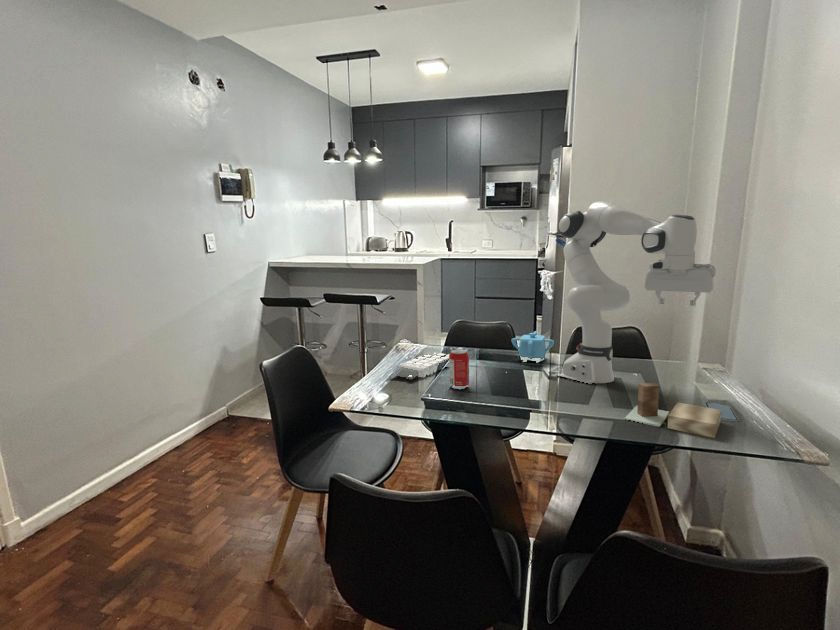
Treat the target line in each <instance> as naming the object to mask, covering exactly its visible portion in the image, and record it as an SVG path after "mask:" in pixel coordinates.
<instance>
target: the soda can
mask: <svg viewBox="0 0 840 630" xmlns="http://www.w3.org/2000/svg"><path fill="white" fill-rule="evenodd" d="M449 354H450V355H449V367H448V370H449V371H448V372H449V373H448V376H449V377H448V378H449V379H448V381H449V382H448V383H450V384H452V385H455V386H466V385H469V386H470V354H469V353H468V351H467V350H466V349H459V348H458V349H452V350H450V353H449Z"/></svg>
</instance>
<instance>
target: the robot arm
mask: <svg viewBox="0 0 840 630" xmlns="http://www.w3.org/2000/svg"><path fill="white" fill-rule="evenodd" d="M697 228H698V227H697V221H696V219H695V217H693V216H692V215H686V214H671V215H669V216H668V218H666V220H664V221H661V222H660V221H658V220H655V219H651V218H648V217H646V216H643V215H641V214H639V213H636V212H634V211H632V210H629V209H627V208H625V207H623V206H620V205H618V204H616V203H615V204H614V203H613V202H608V201H602V200H599V201H595V202H593V203H592V204H590V205H589V206H588V208H587V210H586V211H585V212H582V211H581V210H576V211H573V212H567V213H565V214H564V215H562V216H561V217H560V219H559V221H558V223H557V229H558V230H557V231H558V233H559V234H560V235H561V236H562V237H564V238H566V239H570V241H568V242H566V244H565V245H564V247H563V256H564V260H565V263H566V265H567V268H568V270H569V272H570V275H571V277H572V279H573V280H574V282H575V283H576V284H577V285H578V286H575V287H572V288H570V290H569V291H568V294H567V296H566V304H567V306H568V307H569V309H570V310H571V311H573V312H574V313H575V314H576V315H577V316H578V319H579V321H580V323H581V324H580V325H581V329H582V342H580V343H579V344H578V345H577V346H576V350H577V352H576V353H574V354H573V355H571V356H570V357H568V358H567V359H565V361H564V363H563V365H562V369H561V370H562V373H561V374H557V373H556V376H557V375H559V376H562V377H566V378H570V379H573V380H577V381H580V382H579V383H582V382H584V383H583V384H586V383H588V384H587V385H593V384H592V383H595V384H607V383H609V384H610V383H612V382H614V381H615V378H614V372H613V367H612V359H613V345H612V337H613V335H612V334H613V328H612V326H611V324H609V323H608V322H607V321H606V320H603V319H602V315H601V312H613V311H617V310H618V311H619V310H621V309H624V308H626V307H627V306H628V305H629V302H630V298H631V294H630V292H629V290H628V288H627V286H625V285H623V284H620V283H618V282H616V281H615V280H613V279H612V278H611V277H610V276H608V275H607V274H606V273H605V272H603V271H602V269H601V267H600V266H599V264H598V263H597V261H596V259H595V257H594V255H593V253H592V251H591V248H594V247H596V246H597V245H598V243H600V242H602V241H603V240H604V239H605V237H606V234H610V235H614V236H615V235H616V236H641V239H640V240H641V243H640V244H641V247H642V249H643V250H644V251H645V252H646V253H648V254H653V255H654V254H656V255H659V254H660V255H661V254H662V255H663V254H664V259H659V260H656V261H653V262H650V263H649V265H648V269H649V270H648V271H647V273H646V276H645V278H644V279H645V280H644V288H645V290H646V291H652V292H653V291H654V292H655V296H656V297H657V299H658V304H659V305H664V304H665V300H666V299H665V298H663V297H662V296H661V294H662V292H678V293H679V292H681V293H682V292H683V293H694V296H695V297H694V298H693V299H690V301H689V302H690V303H689V305H690V307H693V306H694V307H696V306H697V300H698V299H699V298H700V296H701V293H709V294H710V293H711V292H712V291H713V290H714V278H715V276H716V268H715V266H714V265H711V264H710V263H705V264H704V263H703V264H702V263H695V261H696V252H695V246H696V244H697ZM573 380H572V381H573ZM577 381H576V382H577Z"/></svg>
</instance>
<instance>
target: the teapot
mask: <svg viewBox="0 0 840 630" xmlns="http://www.w3.org/2000/svg"><path fill="white" fill-rule="evenodd" d="M545 337H546V336H545V335H543V334H541V335H539V334H538V331H537V330H535V331H533V332H530V333H528V334H523V335H522V336H521V337H514V338H511V343H512V345H513V346H514V347H515V348H516V349H517V351H518V357H519V356H521V357H528V358H530V359H532V358H541V359H543V358H544V357H545V358H546V356H545V355H547V352H548V351H549V350H550V349H551V348H553V346H554V345H555V340H553V339H549V338H545ZM517 341H519V344H518V343H517ZM546 342H548V343H549V344H548V345H547V344H546Z"/></svg>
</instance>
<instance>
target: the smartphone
mask: <svg viewBox="0 0 840 630" xmlns="http://www.w3.org/2000/svg"><path fill="white" fill-rule="evenodd" d="M718 403H719V402H708V401H705V402H704V404H705V405H704V407H707V408H713V409H718V410H722V413H721V421H726V422H736V423H738V422H737V421H740V419H739V417H738V416H737V414H736V412H735V410H734V409H733V408H732V407H731V408H732V409H731V408H728V407H725V406H724V405H720V404H718Z"/></svg>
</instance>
